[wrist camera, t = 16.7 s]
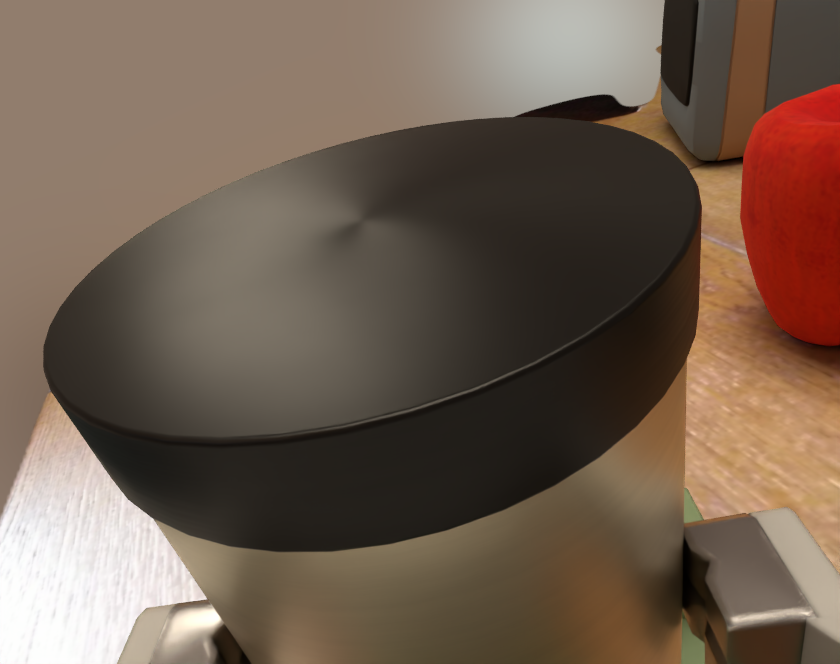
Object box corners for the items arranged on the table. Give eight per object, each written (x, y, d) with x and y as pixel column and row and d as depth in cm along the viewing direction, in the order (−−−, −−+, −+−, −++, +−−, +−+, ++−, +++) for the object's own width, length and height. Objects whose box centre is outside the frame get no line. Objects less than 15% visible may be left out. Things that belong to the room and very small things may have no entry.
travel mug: (771, 722, 11) (873, 159, 5) (461, 1055, 8) (83, 651, 3) (519, 500, 16) (441, 99, 11) (282, 668, 14) (25, 261, 8)
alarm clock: (657, 120, 62) (651, -63, 54) (842, 86, 58) (864, -117, 50) (691, 173, 49) (690, -62, 41) (936, 133, 45) (986, -136, 37)
